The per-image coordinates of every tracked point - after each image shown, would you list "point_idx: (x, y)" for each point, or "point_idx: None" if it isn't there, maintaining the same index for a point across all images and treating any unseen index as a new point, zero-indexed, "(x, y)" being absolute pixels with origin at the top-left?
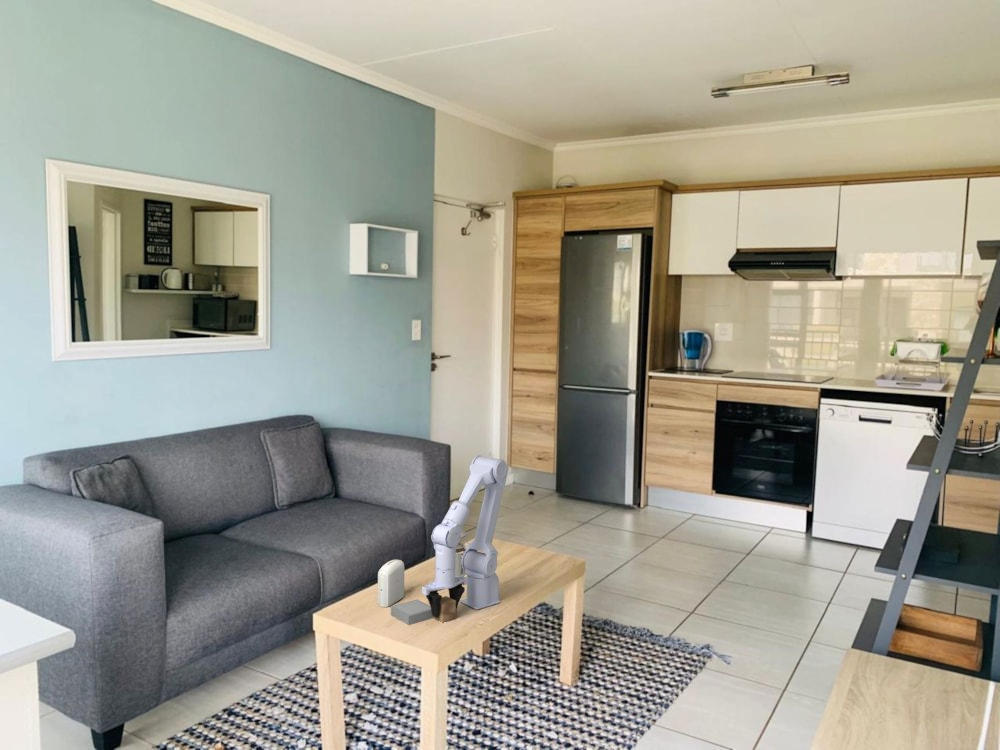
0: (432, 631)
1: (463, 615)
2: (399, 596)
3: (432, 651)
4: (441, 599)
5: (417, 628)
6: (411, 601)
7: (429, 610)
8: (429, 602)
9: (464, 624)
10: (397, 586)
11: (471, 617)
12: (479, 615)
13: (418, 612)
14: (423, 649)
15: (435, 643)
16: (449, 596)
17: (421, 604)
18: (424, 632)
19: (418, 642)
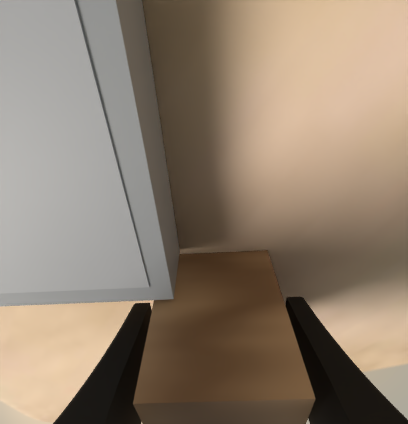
0: (90, 350)
1: (333, 303)
2: None
3: (41, 419)
4: (208, 422)
5: (25, 307)
6: None
7: (118, 299)
8: (66, 414)
9: None
10: None
11: (340, 332)
12: (389, 333)
13: (14, 294)
14: (14, 407)
15: (67, 400)
16: (338, 401)
17: (93, 170)
18: (51, 343)
19: (4, 380)
